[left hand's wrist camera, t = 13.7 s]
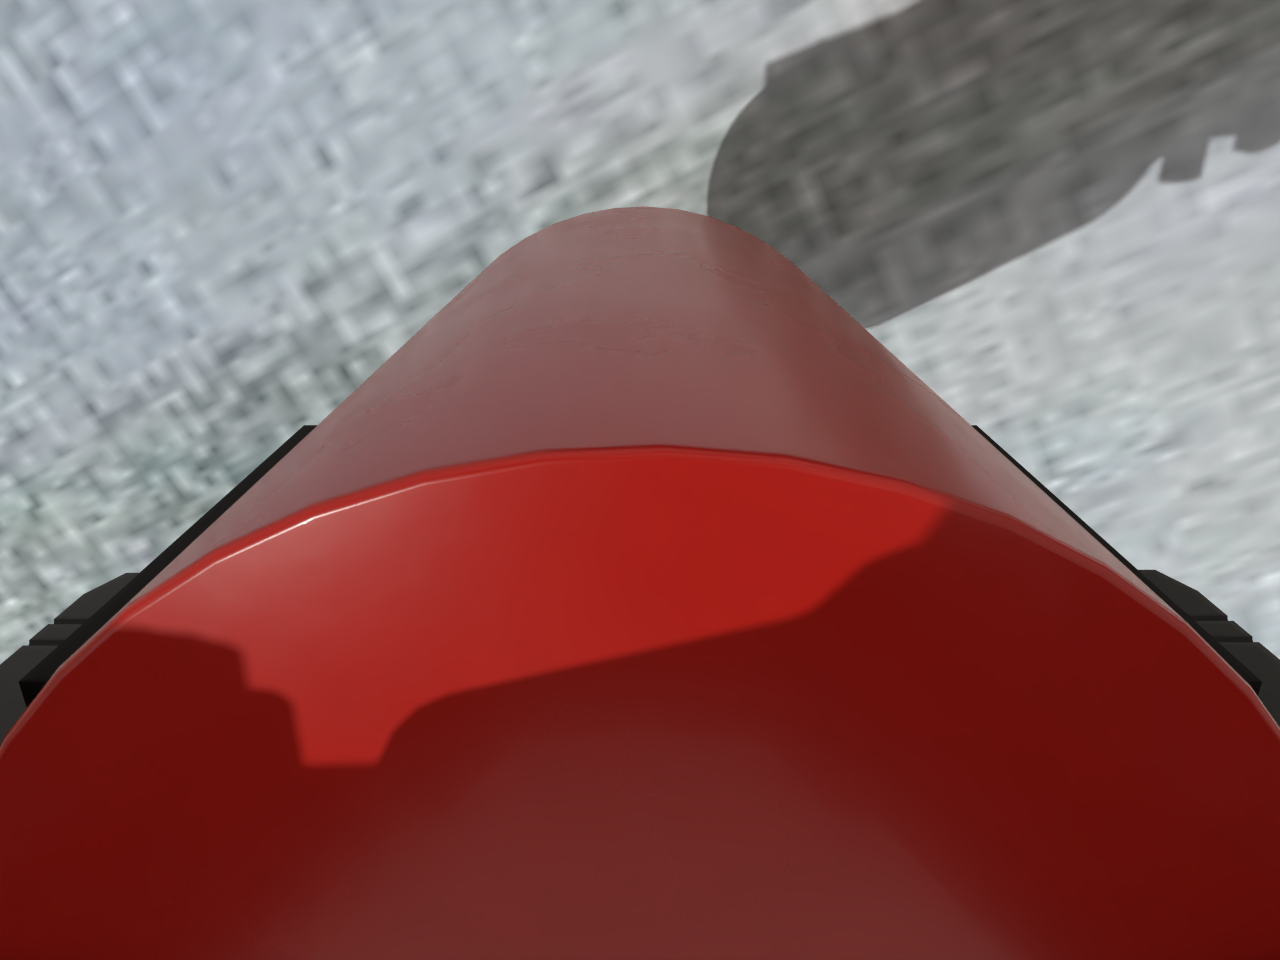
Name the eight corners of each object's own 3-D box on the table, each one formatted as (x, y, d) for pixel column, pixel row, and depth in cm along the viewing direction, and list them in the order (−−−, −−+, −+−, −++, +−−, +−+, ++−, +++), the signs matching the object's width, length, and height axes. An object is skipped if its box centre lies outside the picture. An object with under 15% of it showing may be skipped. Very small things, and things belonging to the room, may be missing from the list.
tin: (349, 503, 18) (-211, 1233, 6) (556, 109, 15) (265, 55, 3) (708, 688, 19) (811, 1546, 8) (952, 362, 17) (1682, 915, 5)
